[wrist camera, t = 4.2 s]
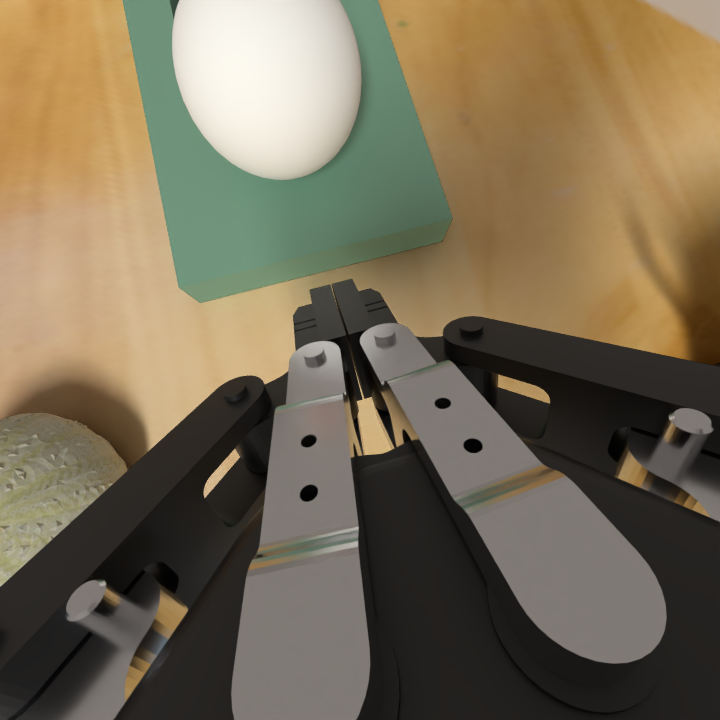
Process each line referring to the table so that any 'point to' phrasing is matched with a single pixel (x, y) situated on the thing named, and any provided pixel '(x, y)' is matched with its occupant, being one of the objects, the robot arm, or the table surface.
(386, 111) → the putting board
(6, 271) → the table surface
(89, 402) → the table surface
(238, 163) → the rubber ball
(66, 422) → the sea urchin shell
